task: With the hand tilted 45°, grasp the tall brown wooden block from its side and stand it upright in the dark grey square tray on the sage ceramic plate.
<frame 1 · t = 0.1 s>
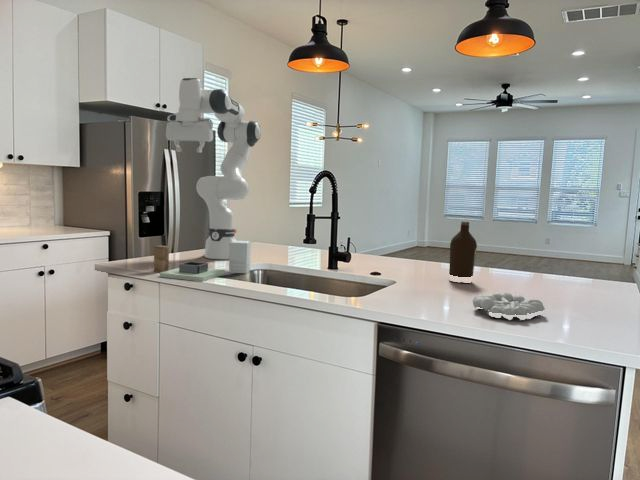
hand: (189, 152, 205), 48 cm above the worktop, tool pointing down, fingers open, 8 cm apart
supplement box: (239, 272, 204), on the worktop
dark grey square tray: (193, 267, 192), on the jar plate, point 2 cm above the worktop
brown wooden block: (161, 271, 197), on the worktop
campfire: (507, 315, 155), on the worktop
jar plate: (193, 275, 192), on the worktop
olive oil: (460, 282, 207), on the worktop
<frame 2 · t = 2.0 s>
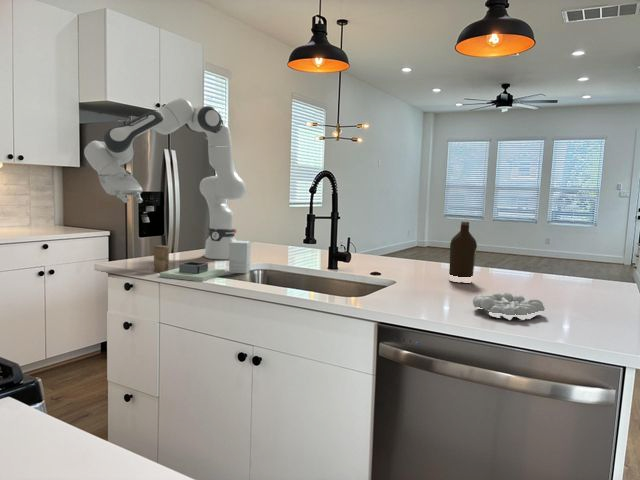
hand: (134, 201, 198), 27 cm above the worktop, tool tilted 45°, fingers open, 8 cm apart
nothing on the worktop moved.
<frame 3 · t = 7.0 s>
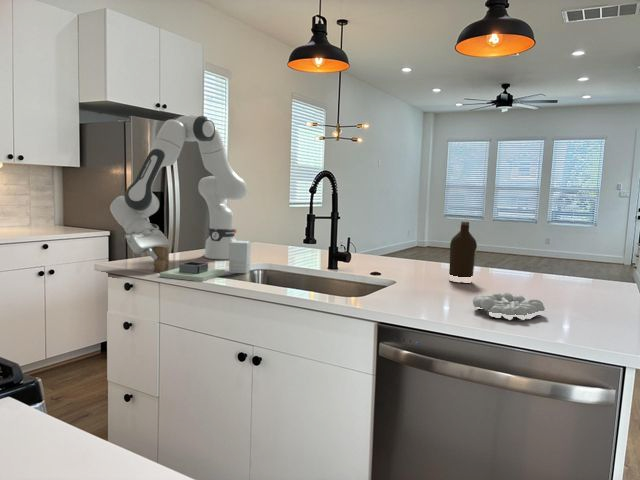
hand: (161, 257, 196), 5 cm above the worktop, tool tilted 45°, fingers closed on brown wooden block, 4 cm apart
brown wooden block: (161, 271, 197), on the worktop, touching gripper
everything else where it was.
when the fingers open (8 cm above the worktop, at t = 14.3 s): brown wooden block drops 1 cm, resting on jar plate.
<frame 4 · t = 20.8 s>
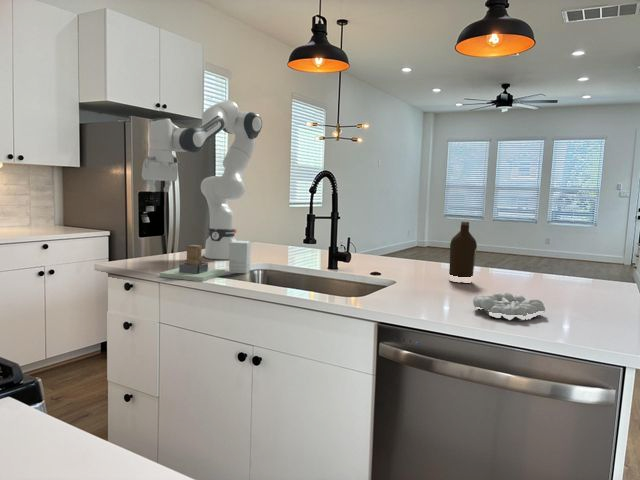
hand: (159, 191, 204), 31 cm above the worktop, tool pointing down, fingers open, 8 cm apart
brown wooden block: (193, 271, 192), point 1 cm above the worktop, touching jar plate
everything else where it was.
at the end: brown wooden block 0.1 cm off-centre on the jar plate, point 1.5 cm above the jar plate's base; brown wooden block tilted 0°; the gripper is holding nothing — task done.
